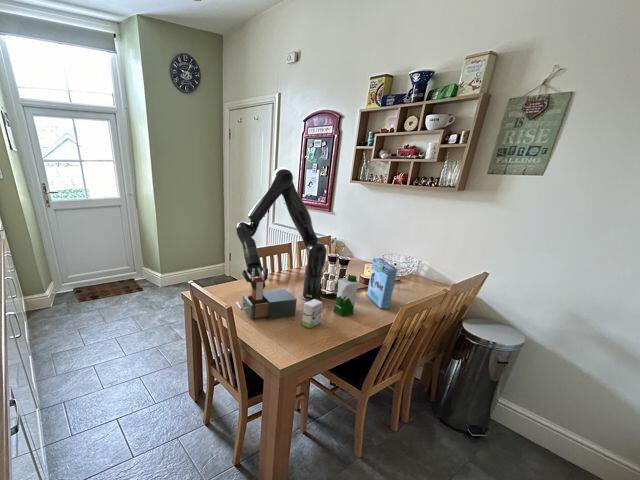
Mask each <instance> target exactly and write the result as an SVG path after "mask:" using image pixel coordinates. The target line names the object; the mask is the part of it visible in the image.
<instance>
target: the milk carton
mask: <svg viewBox="0 0 640 480" xmlns="http://www.w3.org/2000/svg"><path fill="white" fill-rule="evenodd" d="M359 286H360V282H359V281H358V280H357V276H356V275H353V274H351V275H348V277H345V278H344V277H343V278H339V279H337V291H338V292H337V291H336V292H337V293H336V299H335V304H334V308H333V312H335V313H336V314H338V315H339V316H340V317H346V316H351V315H354V308H355V302H356V296H357V291H358V290H357V288H359Z"/></svg>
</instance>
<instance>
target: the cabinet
mask: <svg viewBox="0 0 640 480" xmlns="http://www.w3.org/2000/svg"><path fill="white" fill-rule="evenodd" d="M263 297H264V298H265V299H266V300H267V301H268V302H269V314H268V316H266V317H265V318H267V319H268V320H275V319H276V320H277V319H284V318H291V317H295V316H296V311H297V300H298V299H297V298H296V297H295V296H294V295H293V294H292V293H290V292H289V291H288V289H286V288H279V289H270V290H269V289H268V290H263Z"/></svg>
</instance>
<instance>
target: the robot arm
mask: <svg viewBox="0 0 640 480" xmlns="http://www.w3.org/2000/svg"><path fill="white" fill-rule="evenodd" d="M293 180H294V176H293V173H292V171H291V170H290V169H288V168H286V167H279V168H277V169H276V170H275V171H274V173H273V175H272V182H271V185H270V186H269V188H268V189H267V191H266V192H265V194H264V195H263V196H262V197H260V199H259V200H257V202H256V204H255V205H253V208H252V209H251V210H250V212H249V213H248V215H247V216H248V219H249V222H246V221H239V222H238V223H237V225H236V228H235V230H236V235H237V238H238V240H239V241H240V243H241V246H242V250H243V251H242V252H243V258H244V262H245V266H246V269H244V270H242V272H241V274H242V276H243V278H244V279H245V282H246V283H250V286H251V290H252V289H253V290H255V289H256V286H255V282H254V278H256V277H257V278H261V279H262V280H263V281H264V285H263V290H265V288H266V281H267V280H268V277H269V268H268V267H267V268H264V267H263V266H262V262H261V258H260V254H259V253H260V252H259V249H258V248H257V243H256V240H255V238H253V237H254V236H255V235H256V233H257V231H258V228H259V226H260V223H261V221H262V220H263V218H264V217H265V216H266V215H267V213H268V212H269V210H270V209H271V207H272V206H273V205H274V204H275V202H276V201H277V200H278V199H279V197H281V196H282V198H283V201H284V203H285V207H286V209H287V212H288V214H289V217H290V219H291V222H292V223H293V225H294V227H295V228H296V230H297V232H298V233H299V235H300V238H301V239H302V242H303V244H304V248H305V251H306V253H307V255H308V262H307V263H306V265H305V270H304V280H303V290H302V296H301V297H302V300H305V301H307V302H309V301H311V300H313V299H316V300H318V301H320V300H321V297H322V295H323V294H324V295H326V296H332V295H335V294H336V293H333V292H329V293H328V294H326V293H327V292H326V291H325V290H322V289H323V283H322V278H323V277H322V276H323V269H324V267H325V264H326V263H325V262H326V258H327V247H326V246H325V244H323V243H322V241H320V239H319V238H318V236H317V233H316V232H315V230H314V226H313V221H312V217H311V215H310V212H309V210H308V207H307V206H306V204H305V202H304V200H303V199H302V197H301V195H300V194H299V193H298V191H297V189H296V186H295V184H294V181H293ZM249 275H250V276H249ZM401 280H402V279H401V278H399V279H395V283H396V282H400V281H401ZM365 289H366V290H367V289H368V286H364V287H358V288H357V291H361V290H365Z"/></svg>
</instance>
